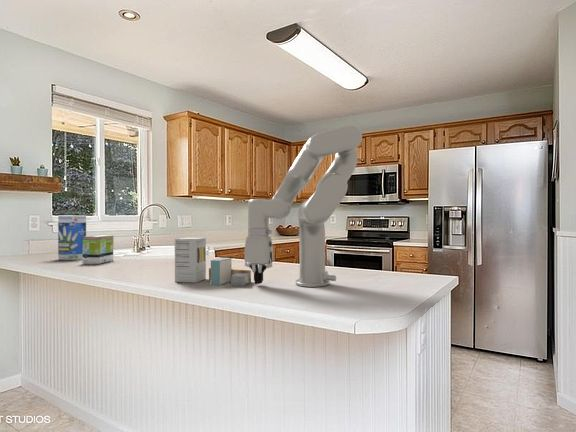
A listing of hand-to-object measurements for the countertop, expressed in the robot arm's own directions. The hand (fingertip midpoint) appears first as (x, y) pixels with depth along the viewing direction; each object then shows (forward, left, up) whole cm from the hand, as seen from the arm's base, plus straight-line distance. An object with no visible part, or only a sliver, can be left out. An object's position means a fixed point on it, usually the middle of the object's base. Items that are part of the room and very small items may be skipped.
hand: (258, 283), depth 139 cm
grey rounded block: (+7, 0, -1) cm, 8 cm away
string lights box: (+141, -33, -1) cm, 145 cm away
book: (+16, 0, -1) cm, 16 cm away
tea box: (+114, -28, -1) cm, 117 cm away
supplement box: (+30, 0, -1) cm, 30 cm away
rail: (+15, -5, -1) cm, 16 cm away
